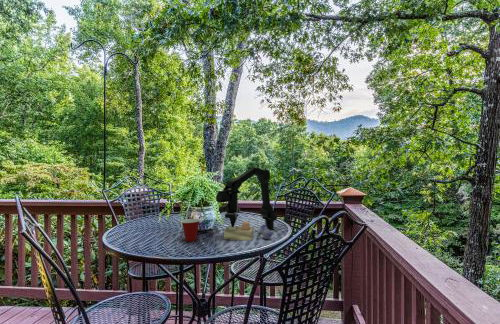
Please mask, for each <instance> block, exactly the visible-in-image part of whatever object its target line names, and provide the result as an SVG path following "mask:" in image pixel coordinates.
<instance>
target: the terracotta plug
mask: <svg viewBox="0 0 500 324" xmlns="http://www.w3.org/2000/svg"><path fill="white" fill-rule="evenodd" d="M250 225H251V224H250V221H242V223H241V226H242V230H250V227H251V226H250Z"/></svg>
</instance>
